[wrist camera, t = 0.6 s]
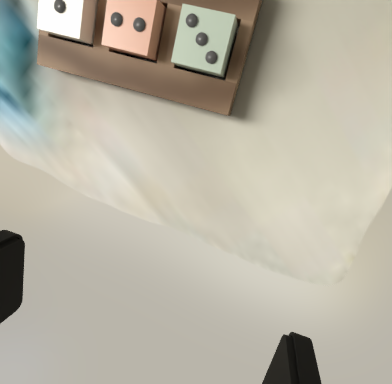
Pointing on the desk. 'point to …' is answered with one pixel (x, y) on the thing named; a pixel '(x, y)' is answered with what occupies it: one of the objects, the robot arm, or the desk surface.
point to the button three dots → (204, 40)
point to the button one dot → (68, 19)
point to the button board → (162, 70)
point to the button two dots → (134, 27)
